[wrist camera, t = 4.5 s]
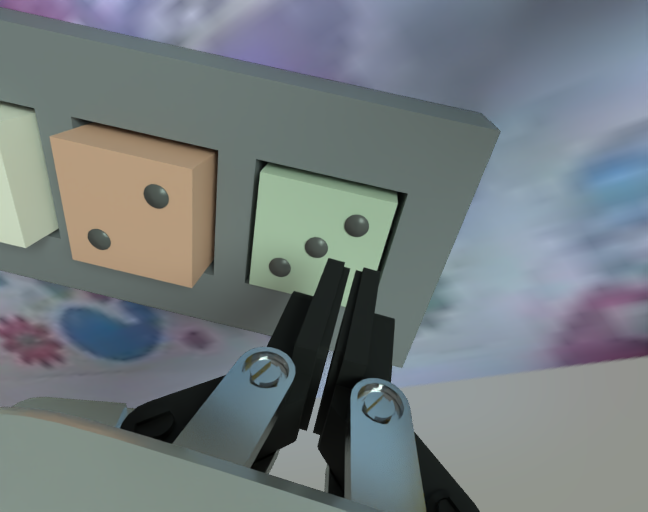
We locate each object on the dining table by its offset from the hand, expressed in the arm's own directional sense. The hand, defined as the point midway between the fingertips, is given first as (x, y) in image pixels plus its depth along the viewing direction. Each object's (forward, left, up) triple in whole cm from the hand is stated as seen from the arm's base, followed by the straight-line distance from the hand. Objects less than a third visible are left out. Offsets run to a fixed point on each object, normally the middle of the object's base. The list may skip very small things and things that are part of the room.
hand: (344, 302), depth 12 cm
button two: (+8, 0, -5) cm, 10 cm away
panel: (+8, 0, -7) cm, 11 cm away
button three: (+1, 0, -6) cm, 6 cm away
